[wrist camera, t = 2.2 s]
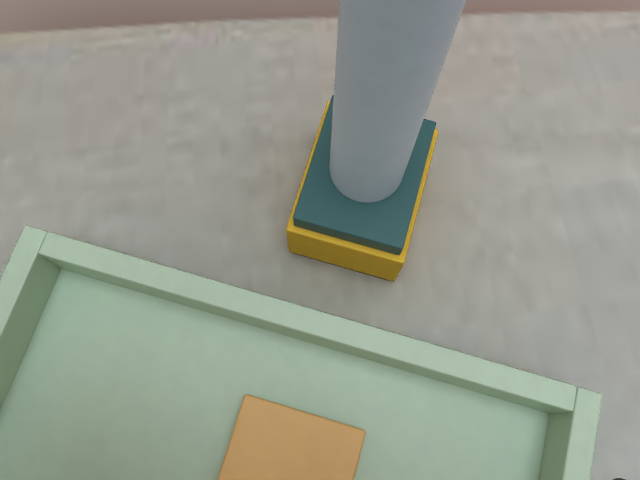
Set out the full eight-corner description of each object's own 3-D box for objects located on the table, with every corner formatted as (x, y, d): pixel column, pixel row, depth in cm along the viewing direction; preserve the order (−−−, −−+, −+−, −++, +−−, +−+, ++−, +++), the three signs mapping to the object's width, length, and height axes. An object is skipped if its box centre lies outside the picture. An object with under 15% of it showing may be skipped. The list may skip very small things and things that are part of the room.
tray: (-73, 536, 20) (-126, 551, 17) (55, 246, 22) (24, 224, 20) (515, 734, 18) (545, 780, 16) (570, 397, 21) (604, 393, 19)
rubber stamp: (393, 281, 22) (516, 60, 9) (288, 251, 22) (252, -7, 9) (426, 160, 24) (573, -190, 10) (326, 133, 24) (342, -241, 11)
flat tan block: (208, 520, 19) (201, 525, 18) (248, 395, 21) (244, 392, 19) (330, 559, 19) (331, 567, 18) (363, 430, 20) (366, 430, 19)
